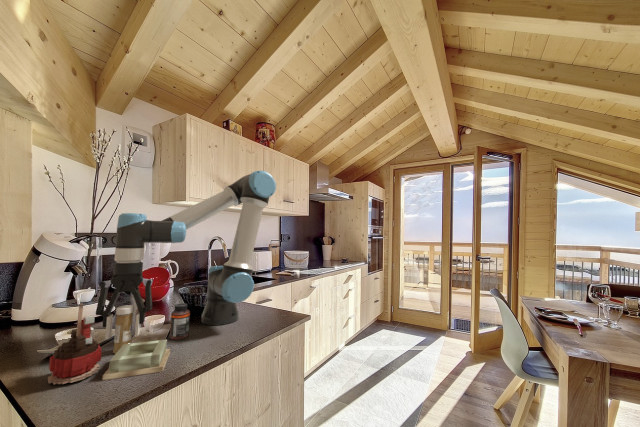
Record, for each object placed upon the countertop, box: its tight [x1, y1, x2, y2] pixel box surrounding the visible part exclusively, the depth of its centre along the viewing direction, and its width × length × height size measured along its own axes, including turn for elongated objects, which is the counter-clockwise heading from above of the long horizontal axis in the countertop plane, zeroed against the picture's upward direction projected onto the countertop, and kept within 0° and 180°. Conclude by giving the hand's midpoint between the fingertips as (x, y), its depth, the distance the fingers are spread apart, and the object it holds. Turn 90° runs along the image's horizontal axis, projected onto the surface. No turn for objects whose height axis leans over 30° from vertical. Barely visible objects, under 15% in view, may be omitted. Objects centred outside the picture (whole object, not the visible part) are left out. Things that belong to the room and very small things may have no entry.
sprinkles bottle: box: [112, 305, 135, 355], centre depth 82 cm, size 5×5×13 cm
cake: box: [47, 303, 103, 385], centre depth 67 cm, size 11×9×18 cm
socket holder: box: [102, 339, 171, 381], centre depth 73 cm, size 13×12×4 cm
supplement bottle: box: [169, 302, 191, 341], centre depth 94 cm, size 6×6×11 cm
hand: (123, 335), depth 82 cm, fingers open, 7 cm apart
